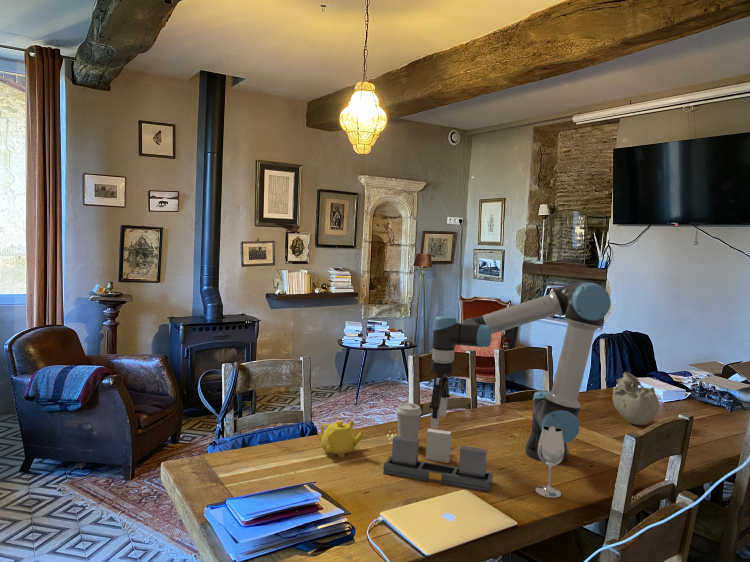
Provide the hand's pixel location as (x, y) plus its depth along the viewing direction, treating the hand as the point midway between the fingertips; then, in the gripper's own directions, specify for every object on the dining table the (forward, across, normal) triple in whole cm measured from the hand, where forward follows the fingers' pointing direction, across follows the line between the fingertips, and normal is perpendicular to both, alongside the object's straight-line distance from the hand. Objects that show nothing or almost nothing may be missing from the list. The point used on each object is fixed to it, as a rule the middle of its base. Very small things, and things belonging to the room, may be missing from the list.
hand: (438, 421), depth 193 cm
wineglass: (+13, +12, +38) cm, 41 cm away
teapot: (+14, +7, -32) cm, 36 cm away
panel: (+14, 0, 0) cm, 14 cm away
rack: (+14, +16, +4) cm, 21 cm away
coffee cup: (+14, -8, -12) cm, 20 cm away
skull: (+12, -77, +72) cm, 107 cm away
